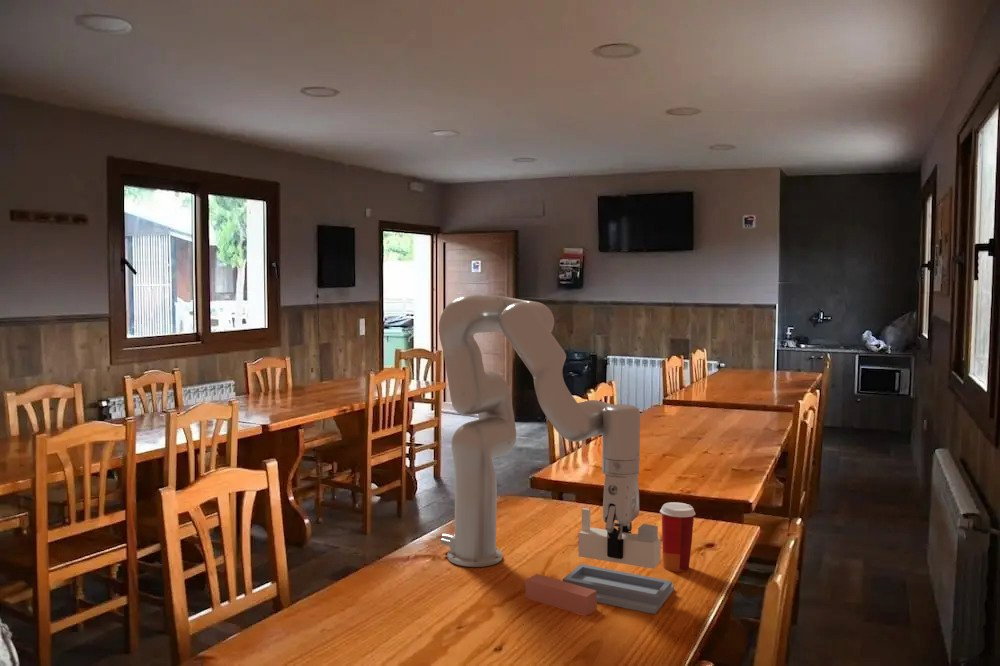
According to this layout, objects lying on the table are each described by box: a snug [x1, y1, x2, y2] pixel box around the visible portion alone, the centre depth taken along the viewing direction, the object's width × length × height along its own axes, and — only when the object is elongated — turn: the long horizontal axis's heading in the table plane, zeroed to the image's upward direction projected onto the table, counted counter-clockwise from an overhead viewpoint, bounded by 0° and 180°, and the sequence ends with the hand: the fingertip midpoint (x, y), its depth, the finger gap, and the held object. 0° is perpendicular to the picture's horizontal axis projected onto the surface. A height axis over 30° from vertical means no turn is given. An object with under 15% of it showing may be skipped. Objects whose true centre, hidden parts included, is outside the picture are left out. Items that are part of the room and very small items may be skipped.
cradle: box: [562, 563, 675, 615], centre depth 165 cm, size 20×14×2 cm
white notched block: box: [578, 507, 662, 570], centre depth 164 cm, size 16×4×10 cm, turn 63°
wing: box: [524, 573, 597, 617], centre depth 158 cm, size 14×4×4 cm, turn 54°
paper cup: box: [659, 501, 696, 573], centre depth 179 cm, size 8×8×14 cm
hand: (619, 552), depth 164 cm, fingers closed on white notched block, 4 cm apart
